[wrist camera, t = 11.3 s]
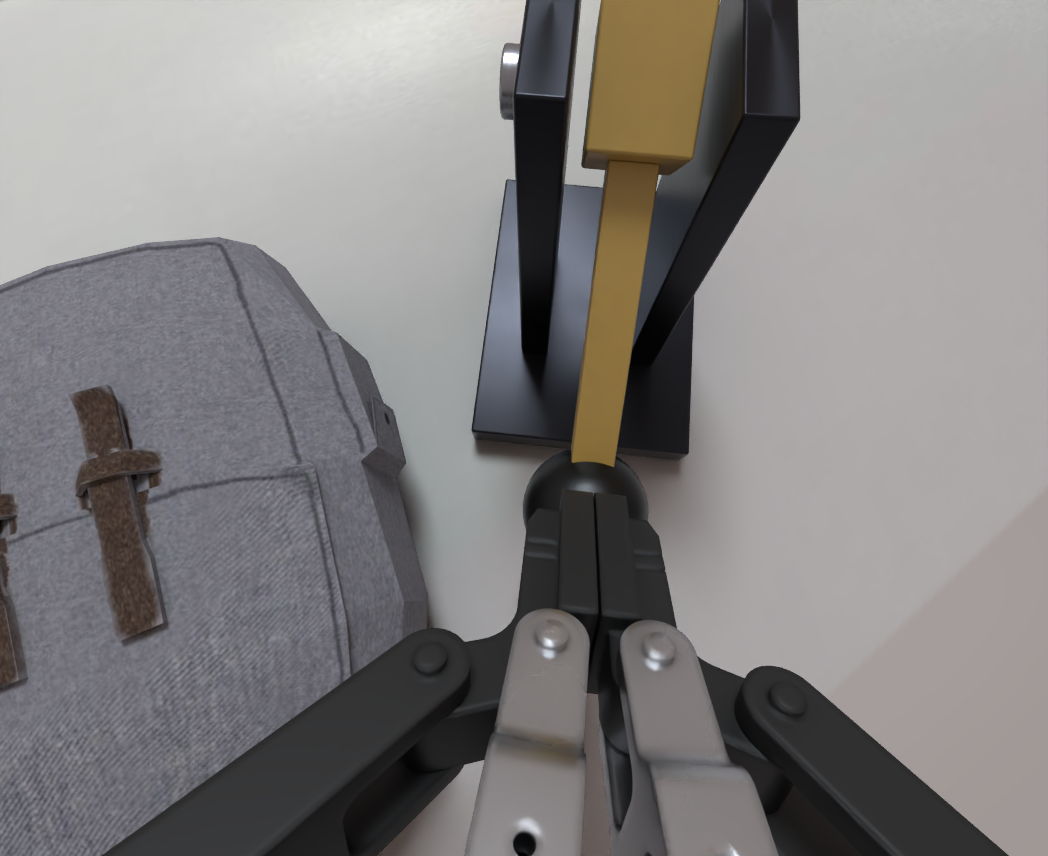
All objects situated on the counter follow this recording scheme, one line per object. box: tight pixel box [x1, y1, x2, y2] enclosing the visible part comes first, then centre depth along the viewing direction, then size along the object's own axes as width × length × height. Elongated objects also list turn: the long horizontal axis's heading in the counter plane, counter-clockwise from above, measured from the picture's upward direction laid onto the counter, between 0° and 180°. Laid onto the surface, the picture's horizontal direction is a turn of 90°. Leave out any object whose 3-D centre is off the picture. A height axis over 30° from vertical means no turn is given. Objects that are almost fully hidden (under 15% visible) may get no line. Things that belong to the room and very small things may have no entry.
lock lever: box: [523, 0, 720, 530], centre depth 13 cm, size 13×3×3 cm
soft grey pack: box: [0, 237, 427, 856], centre depth 16 cm, size 15×8×20 cm
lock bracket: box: [472, 0, 800, 460], centre depth 16 cm, size 11×8×13 cm
